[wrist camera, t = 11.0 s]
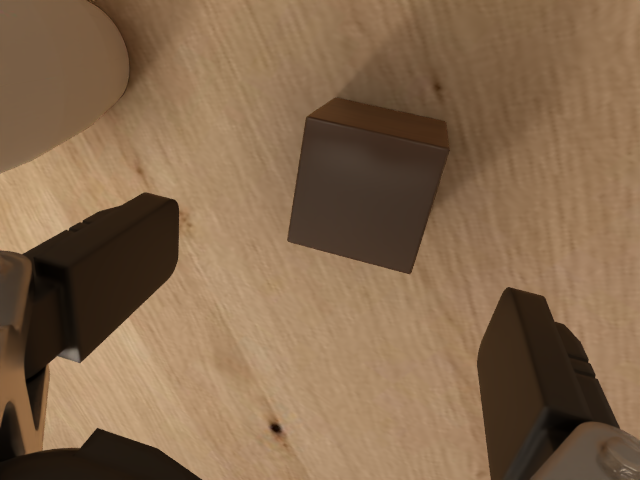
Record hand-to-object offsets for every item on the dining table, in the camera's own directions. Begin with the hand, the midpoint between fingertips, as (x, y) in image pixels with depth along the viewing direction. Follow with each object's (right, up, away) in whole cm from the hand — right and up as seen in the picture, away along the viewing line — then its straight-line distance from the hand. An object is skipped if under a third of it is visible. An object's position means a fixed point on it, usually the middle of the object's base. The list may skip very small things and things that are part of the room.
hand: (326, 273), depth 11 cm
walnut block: (+2, +4, +10) cm, 11 cm away
